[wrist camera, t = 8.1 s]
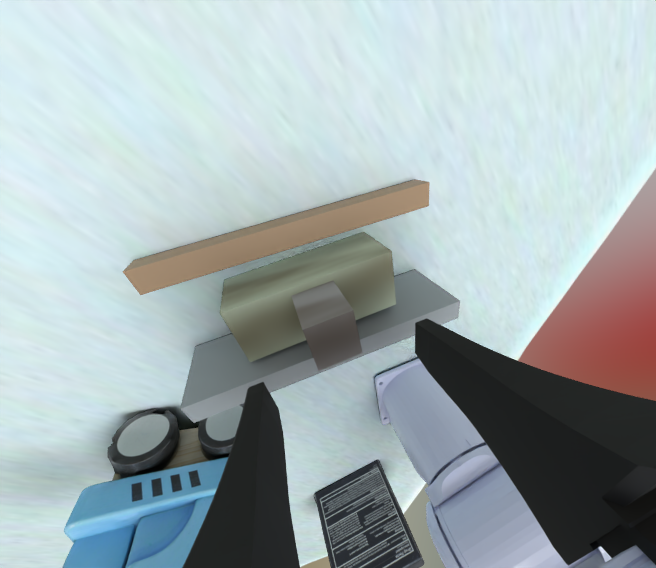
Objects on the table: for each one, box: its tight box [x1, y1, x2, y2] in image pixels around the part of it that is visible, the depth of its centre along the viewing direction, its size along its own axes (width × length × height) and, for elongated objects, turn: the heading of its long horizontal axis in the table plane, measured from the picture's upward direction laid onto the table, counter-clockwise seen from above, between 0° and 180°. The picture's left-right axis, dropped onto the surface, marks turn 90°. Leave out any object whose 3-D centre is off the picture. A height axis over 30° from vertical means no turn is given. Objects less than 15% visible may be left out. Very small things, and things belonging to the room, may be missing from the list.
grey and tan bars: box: [123, 180, 460, 423], centre depth 15 cm, size 9×18×5 cm, turn 101°
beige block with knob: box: [220, 232, 396, 371], centre depth 15 cm, size 4×10×7 cm, turn 103°
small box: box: [314, 460, 424, 568], centre depth 32 cm, size 11×6×10 cm, turn 108°
